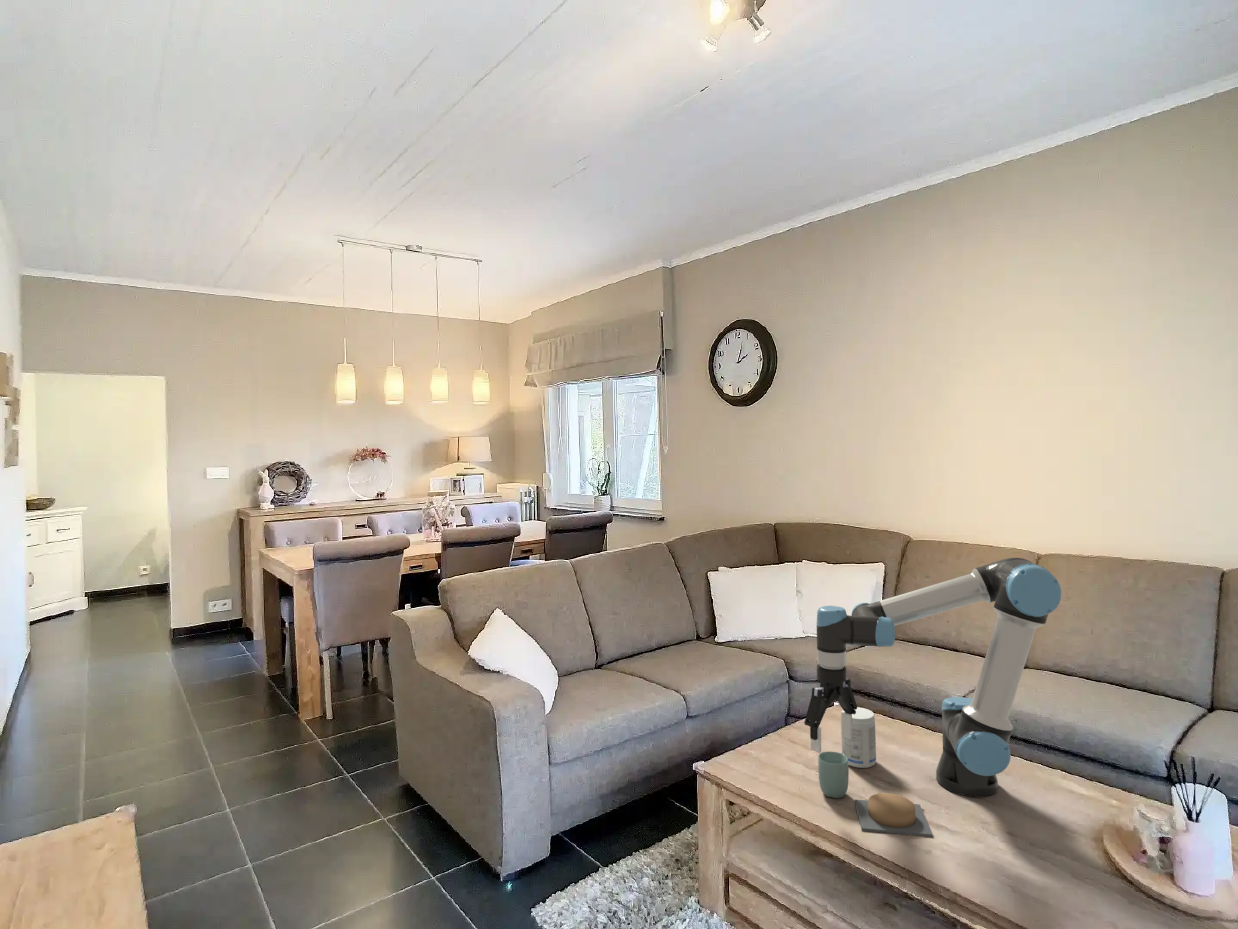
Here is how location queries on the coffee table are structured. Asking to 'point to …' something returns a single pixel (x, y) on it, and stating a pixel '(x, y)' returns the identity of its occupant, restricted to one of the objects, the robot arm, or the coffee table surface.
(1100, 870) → the coffee table surface
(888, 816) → the stand
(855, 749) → the supplement tub
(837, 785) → the cup
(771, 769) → the coffee table surface
